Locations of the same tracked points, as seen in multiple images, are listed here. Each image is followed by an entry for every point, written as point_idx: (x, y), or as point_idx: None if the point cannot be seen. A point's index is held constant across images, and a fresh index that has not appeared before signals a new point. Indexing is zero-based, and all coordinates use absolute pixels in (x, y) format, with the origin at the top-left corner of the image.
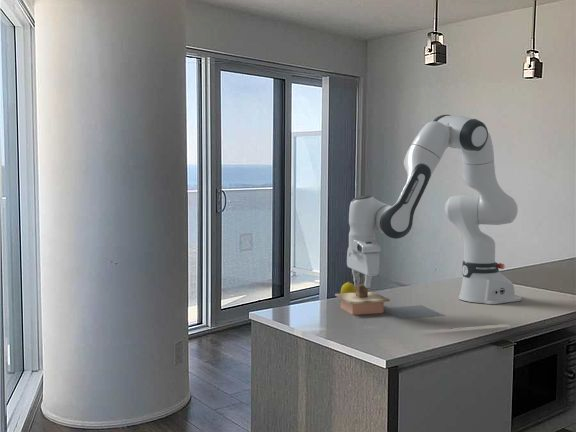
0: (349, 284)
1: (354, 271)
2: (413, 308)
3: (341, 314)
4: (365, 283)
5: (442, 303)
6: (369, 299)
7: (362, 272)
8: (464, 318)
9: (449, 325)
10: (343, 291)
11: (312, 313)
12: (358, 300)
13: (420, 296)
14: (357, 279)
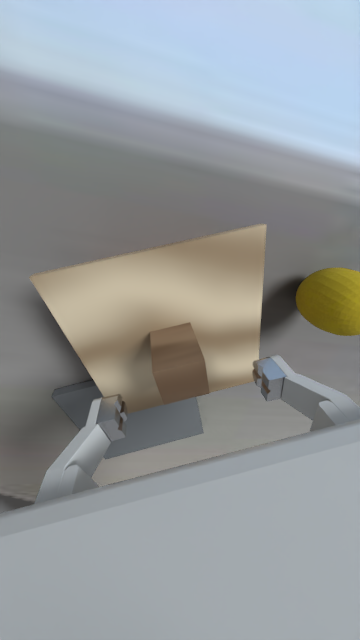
0: (354, 321)
1: (319, 412)
2: (174, 421)
3: (148, 232)
4: (88, 420)
5: (231, 449)
6: (111, 364)
7: (66, 507)
8: (111, 470)
9: (45, 456)
10: (335, 282)
11: (176, 54)
12: (83, 323)
13: (297, 427)
14: (263, 381)
